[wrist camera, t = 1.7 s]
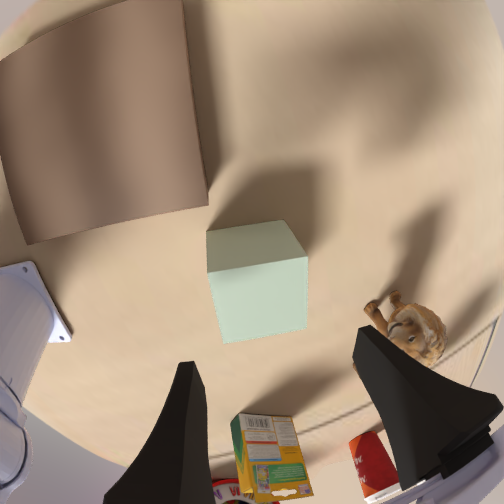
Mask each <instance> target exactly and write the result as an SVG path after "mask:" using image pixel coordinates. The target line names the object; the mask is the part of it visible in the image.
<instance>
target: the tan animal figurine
mask: <svg viewBox="0 0 504 504" xmlns="http://www.w3.org/2000/svg"><path fill="white" fill-rule="evenodd" d="M400 298H401V294H400V293H399V291H394V292H392V293H391V294H390V297H389V300H390V303H391V305H392V306H393V308H394V309H395V311H394V312H393V313H392V315H391V316H390V319H389V322H387V321H386V320H385V319H384V318H383V316H382V314H381V311H380V310H379V309H378V308H377V305H376V304H375V303H369V304H368V305H367V306H366V308H365V309H364V311H365V313H366V314H367V315H368V316H369V317H370V318H371V319H372V320H373V322H374V323H375V325H376V326H377V329H378V331H379V332H380V333H381V334H383V335H384V336H385V337H386V338H388V339H389V340H390V341H391V342H393V343H394V344H395V345H396V346H398V347H399V348H400V349H402V350H403V351H404V352H406V353H407V354H408V355H409V356H411V357H412V358H414V359H415V360H417V361H418V362H420V363H421V364H423V365H424V366H432V365H433V364H434V363H435V362H436V361H437V360H438V359H439V358H440V357H441V356H442V353H443V352H444V349H445V347H446V344H447V336H446V326H445V325H444V324H443V323H442V322H441V319H440V318H439V317H438V316H437V315H435V313H434V312H433V311H431V310H429V309H427V308H426V307H423V306H421V305H418V304H416V303H415V304H408V305H404V304H403V303H401V302H400ZM353 368H354V369H355V371H356V372H357V374H358V371H357V369H356V366H355V363H354V364H353ZM358 375H359V374H358ZM359 378H360V376H359ZM360 379H361V378H360Z"/></svg>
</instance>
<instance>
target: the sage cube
mask: <svg viewBox="0 0 504 504" xmlns="http://www.w3.org/2000/svg"><path fill="white" fill-rule="evenodd" d="M206 248H207V274H208V279H209V284H210V288H211V293H212V297H213V301H214V306H215V310H216V314H217V319H218V323H219V327H220V331H221V335H222V339H223V343H224V344H226V343H232V342H238V341H244V340H250V339H256V338H261V337H267V336H272V335H277V334H282V333H287V332H292V331H297V330H301V329H306V328H307V302H308V255H307V254H306V252H305V251H304V249H303V248H302V246H301V245H300V243H299V242H298V240H297V239H296V237H295V236H294V234H293V233H292V231H291V230H290V228H289V227H288V225H287V224H286V222H285V221H284V220H277V221H270V222H263V223H256V224H250V225H243V226H237V227H230V228H224V229H218V230H212V231H206Z"/></svg>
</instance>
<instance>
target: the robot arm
mask: <svg viewBox="0 0 504 504" xmlns="http://www.w3.org/2000/svg"><path fill="white" fill-rule="evenodd" d="M25 267H26V268H27V269H26V268H25ZM71 339H72V335H71V333H70V332H69V330H68V328H67V326H66V325H65V323H64V321H63V320H62V318H61V316H60V314H59V312H58V311H57V309H56V307H55V305H54V303H53V301H52V299H51V297H50V295H49V293H48V291H47V289H46V287H45V285H44V283H43V281H42V279H41V277H40V275H39V272H38V270H37V268H36V266H35V264H34V263H33V262H32V261H26V262H21V263H17V264H13V265H9V266H5V267H1V268H0V504H6V502H7V499H8V497H9V495H10V494H11V492H12V491H13V490H14V489H15V488H17V487H18V486H19V485H21V484H22V483H23V482H24V481H25V479H26V477H27V476H28V474H29V472H30V469H31V466H32V460H33V446H32V441H31V438H30V435H29V433H28V431H27V430H26V429H25V427H24V425H25V422H26V419H27V416H26V415H25V414H24V413H23V411H22V410H21V407H22V404H23V401H24V398H25V396H26V393H27V390H28V387H29V385H30V382H31V380H32V377H33V375H34V372H35V370H36V367H37V365H38V363H39V360H40V358H41V356H42V353H43V351H44V349H45V347H46V344H47V343H48V342H69V341H71ZM352 358H353V361H354V363H355V366H356V369H357V371H358V374H359V376H360V378H361V380H362V382H363V384H364V386H365V388H366V390H367V392H368V393H369V395H370V397H371V399H372V401H373V403H374V405H375V407H376V409H377V410H378V412H379V415H380V417H381V419H382V422H383V424H384V427H385V430H386V433H387V436H388V439H389V442H390V445H391V448H392V451H393V455H394V459H395V463H396V468H397V473H398V478H399V484H400V487H401V489H402V491H404V490H406V489H408V488H410V487H412V486H414V485H416V484H418V483H420V482H421V481H423V480H425V482H424V483H422V484H420V485H418V486H416V487H414V488H413V489H411V490H409V491H407V492H405V493H403V494H401V495H399V496H396V497H395V498H392V499H390V500H388V501H386V502H383V503H381V504H409V503H410V502H412V501H414V500H416V499H417V501H416V504H478V503H479V502H480V501H482V500H483V498H485V496H487V495H488V494H489V493H490V492H491V491H492V490H493V489H494V488H495V487H496V486H497V484H499V483H500V482H501V481H502V480H503V478H504V425H502V426H501V427H500V428H499V429H498V430H497V431H496V432H494V433H493V434H492V435H491V436H490V435H489V433H488V432H490V431H491V429H490V427H489V424H490V423H491V422H492V421H493V420H494V419H495V418H496V417H497V416H498V415H499V414H500V413H501V412H502V410H503V405H502V404H501V402H500V401H499V399H498V398H497V396H496V395H494V394H490V393H487V392H482V391H479V390H475V389H472V388H469V387H466V386H464V385H461V384H459V383H456V382H454V381H452V380H450V379H447V378H445V377H443V376H441V375H440V374H438V373H436V372H434V371H432V370H431V369H429V368H427V367H426V366H424V365H423V364H421V363H420V362H418V361H417V360H415V359H414V358H412V357H411V356H409V355H408V354H407V353H406V352H404V351H403V350H402V349H400V348H399V347H398V346H396V345H395V344H394V343H393V342H391V341H390V340H389V339H388V338H386V337H385V336H384V335H383V334H381V333H380V332H379V331H378V330H376V329H375V328H374V327H373V326H371V325H368V326H364V327H361V328H359V329H358V334H357V338H356V343H355V348H354V352H353V356H352ZM103 504H216V501H215V496H214V491H213V486H212V480H211V474H210V467H209V460H208V434H207V402H206V394H205V387H204V385H203V382H202V380H201V377H200V375H199V372H198V370H197V367H196V365H195V362H194V361H189V362H180V363H179V364H178V367H177V371H176V374H175V377H174V380H173V383H172V386H171V389H170V392H169V394H168V397H167V399H166V402H165V405H164V407H163V409H162V411H161V414H160V416H159V418H158V420H157V422H156V424H155V426H154V428H153V430H152V432H151V434H150V436H149V438H148V439H147V441H146V443H145V445H144V446H143V448H142V449H141V451H140V452H139V454H138V456H137V457H136V458H135V460H134V461H133V463H132V464H131V465H130V467H129V468H128V469H127V471H126V472H125V473H124V474H123V476H122V477H121V478H120V479H119V480H118V481H117V482H116V483H115V484H114V486H113V487H112V488H111V489H110V490H109V491H108V492H107V493H106V494H105V495H104V500H103Z"/></svg>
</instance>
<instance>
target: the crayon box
mask: <svg viewBox="0 0 504 504" xmlns="http://www.w3.org/2000/svg"><path fill="white" fill-rule="evenodd" d="M230 426H231V432H232V439H233V446H234V452H235V459H236V466H237V472H238V478H239V484H240V490H241V493H253V494H254V500H255V503H264V502H274V501H282V500H290V499H297V498H303V497H309V496H313V495H314V494H313V491H312V487H311V485H310V481H309V477H308V474H307V470H306V467H305V463H304V460H303V456H302V452H301V449H300V445H299V442H298V438H297V435H296V431H295V428H294V424H293V420H292V417H291V416H287V417H281V416H264V415H251V414H244V413H239V414H238V415H237V416H236V417H235V419H234V420H233V421H232V422H231V423H230ZM292 489H295V490H297V493H296V494H290V495H288V496H286V497H284V496H273V495H271V492H272V491H280V490H292Z"/></svg>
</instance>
